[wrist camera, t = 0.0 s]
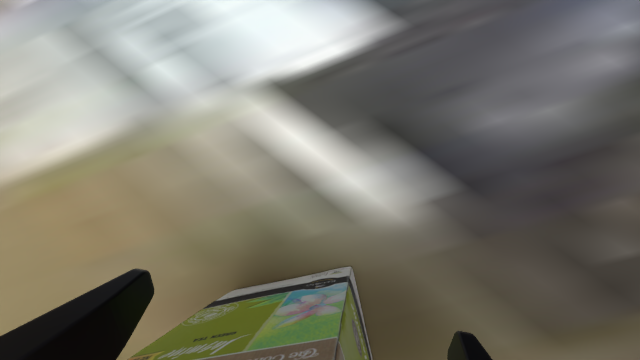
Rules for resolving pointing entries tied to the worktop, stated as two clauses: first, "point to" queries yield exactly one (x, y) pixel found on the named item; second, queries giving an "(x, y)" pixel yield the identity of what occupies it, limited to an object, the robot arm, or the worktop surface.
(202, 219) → the worktop surface
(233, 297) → the tea box
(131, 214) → the worktop surface
